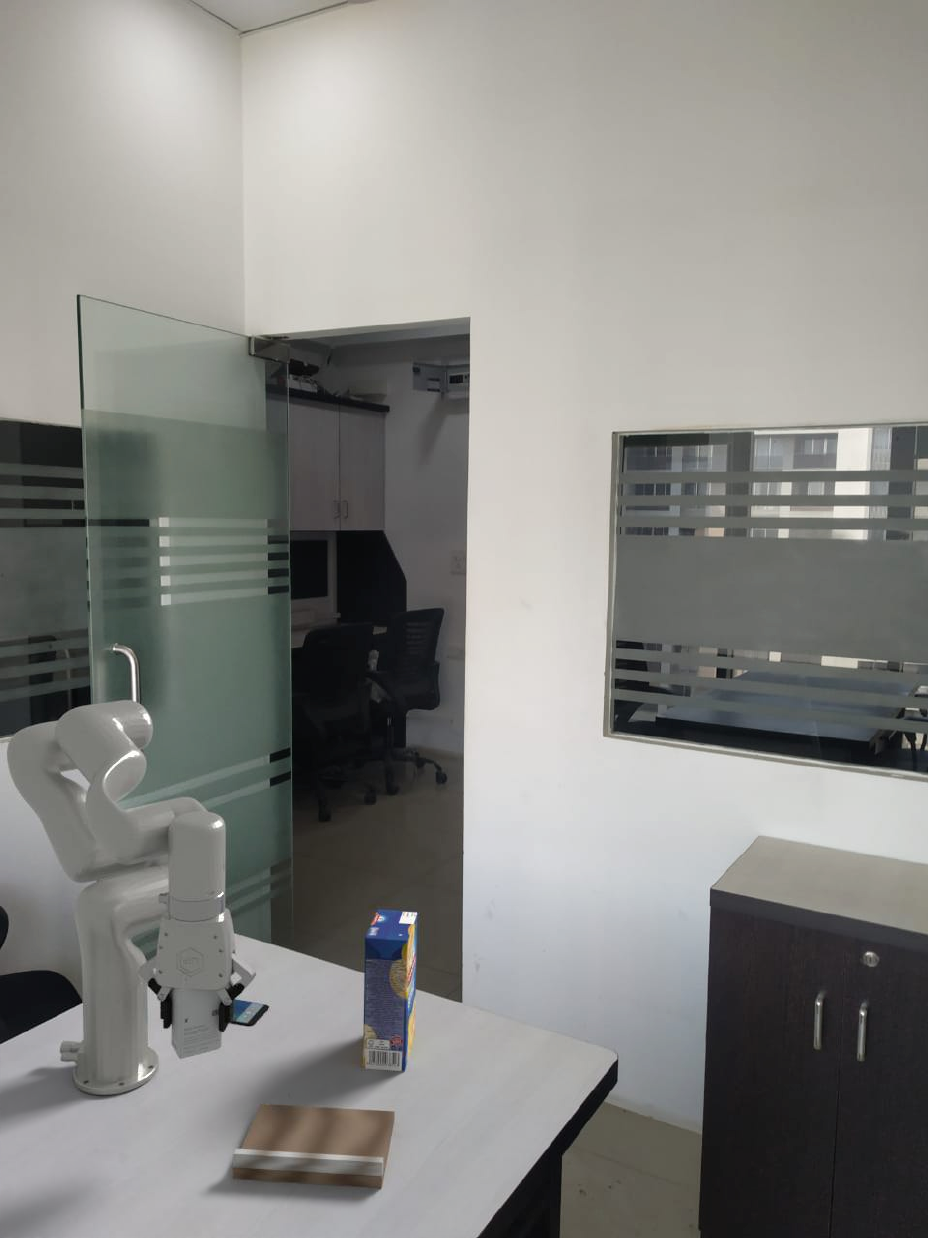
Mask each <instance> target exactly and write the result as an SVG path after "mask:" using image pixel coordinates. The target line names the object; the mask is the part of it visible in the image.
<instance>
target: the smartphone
mask: <svg viewBox="0 0 928 1238" xmlns="http://www.w3.org/2000/svg"><path fill="white" fill-rule="evenodd" d="M268 1008H269V1009H270V1006H269V1005H267V1004H266V1003H265V1004H264V1003H258V1002H253V1001H247V1000H241V999H237V998H235V999H234V1015H233V1021H232V1023H231V1024H234V1025H239V1026H243V1025H244V1026H245V1027H254V1026H255V1025H256V1024H257V1023H258V1022H259V1020H260V1019H261V1018H262V1017H263V1016H264V1015H265V1014H266V1013H267V1012H268V1010H269V1009H268ZM265 1012H266V1013H265ZM264 1013H265V1014H264ZM263 1014H264V1015H263ZM257 1021H258V1022H257Z"/></svg>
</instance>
